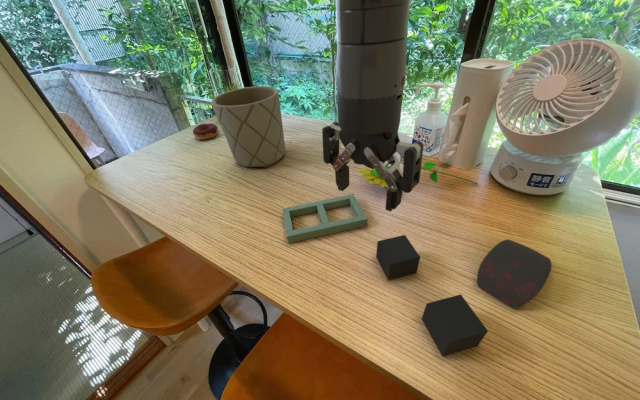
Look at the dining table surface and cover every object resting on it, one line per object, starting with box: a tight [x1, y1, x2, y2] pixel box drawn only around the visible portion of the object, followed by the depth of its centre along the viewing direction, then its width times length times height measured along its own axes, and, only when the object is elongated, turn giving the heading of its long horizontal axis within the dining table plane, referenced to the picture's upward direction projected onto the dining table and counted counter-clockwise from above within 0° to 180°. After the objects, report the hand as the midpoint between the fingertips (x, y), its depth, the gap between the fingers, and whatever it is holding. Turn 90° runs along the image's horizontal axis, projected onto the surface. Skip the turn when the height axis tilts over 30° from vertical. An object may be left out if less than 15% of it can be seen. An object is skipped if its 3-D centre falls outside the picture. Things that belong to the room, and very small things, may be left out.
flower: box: [355, 158, 478, 189], centre depth 64 cm, size 12×9×30 cm
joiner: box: [281, 193, 368, 244], centre depth 57 cm, size 10×18×2 cm, turn 103°
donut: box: [192, 123, 220, 141], centre depth 103 cm, size 10×10×4 cm
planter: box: [211, 85, 286, 169], centre depth 79 cm, size 19×19×20 cm
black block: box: [421, 294, 489, 357], centre depth 36 cm, size 5×5×4 cm
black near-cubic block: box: [375, 234, 421, 281], centre depth 45 cm, size 5×5×4 cm
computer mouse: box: [476, 239, 552, 309], centre depth 42 cm, size 8×14×4 cm, turn 130°
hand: (366, 197), depth 39 cm, fingers open, 8 cm apart
